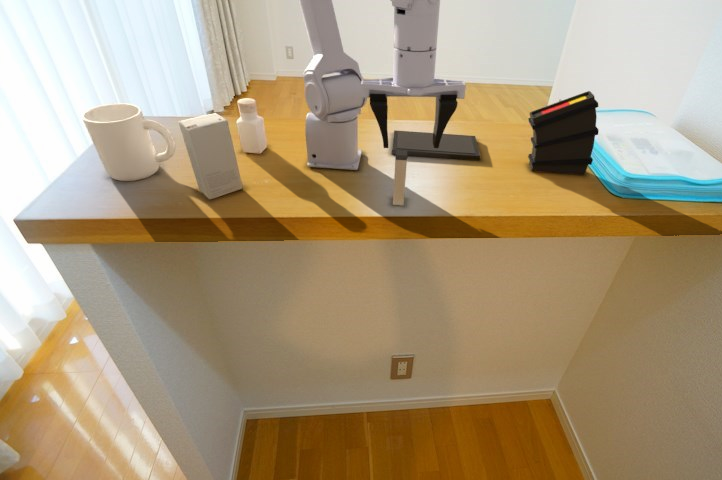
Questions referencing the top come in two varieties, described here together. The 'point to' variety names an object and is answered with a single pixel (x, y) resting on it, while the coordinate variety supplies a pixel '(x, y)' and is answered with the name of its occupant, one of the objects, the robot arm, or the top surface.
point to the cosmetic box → (211, 154)
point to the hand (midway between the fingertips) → (410, 145)
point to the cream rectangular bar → (399, 177)
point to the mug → (126, 141)
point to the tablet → (424, 146)
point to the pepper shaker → (251, 127)
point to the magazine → (564, 135)
